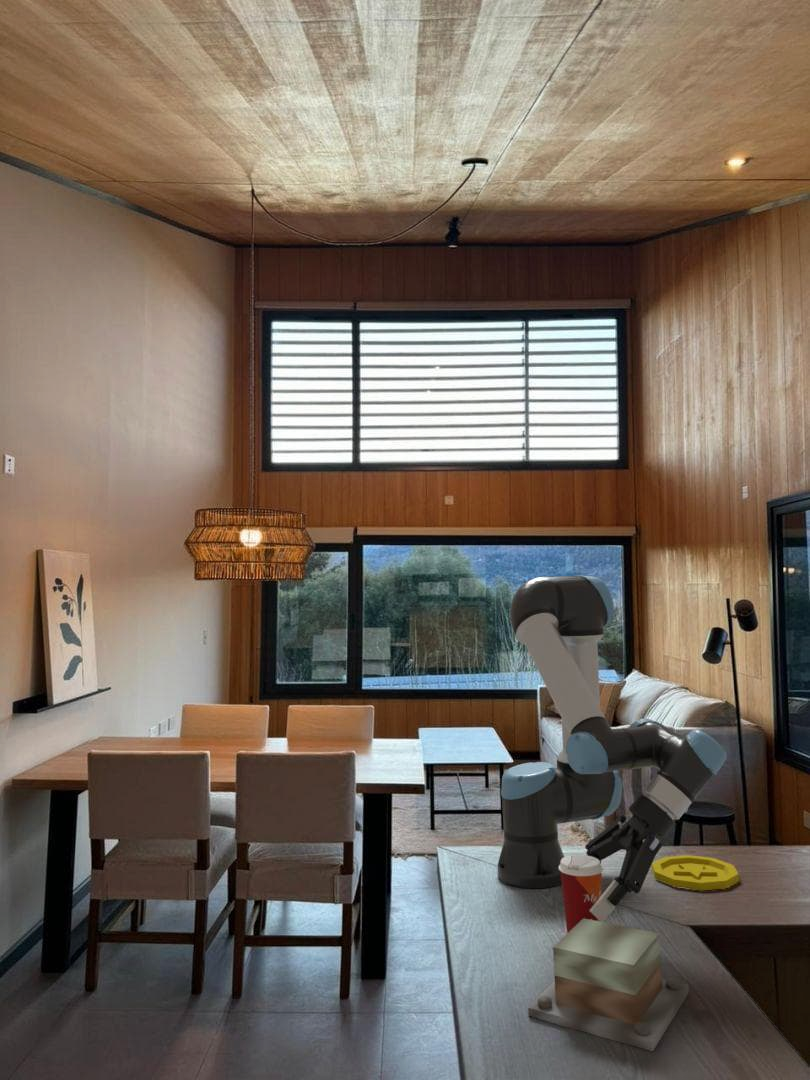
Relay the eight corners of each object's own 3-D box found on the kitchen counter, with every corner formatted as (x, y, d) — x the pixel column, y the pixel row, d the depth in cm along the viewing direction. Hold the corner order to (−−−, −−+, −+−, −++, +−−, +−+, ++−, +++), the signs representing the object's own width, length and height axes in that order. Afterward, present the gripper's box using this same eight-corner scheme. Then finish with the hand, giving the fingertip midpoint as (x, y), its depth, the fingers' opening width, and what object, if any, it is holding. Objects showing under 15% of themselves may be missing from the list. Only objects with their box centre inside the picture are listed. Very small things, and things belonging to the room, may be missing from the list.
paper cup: (599, 956, 134) (594, 870, 135) (555, 947, 138) (551, 864, 139) (613, 938, 140) (608, 857, 141) (571, 930, 144) (567, 851, 145)
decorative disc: (637, 880, 169) (636, 870, 170) (678, 859, 181) (678, 850, 182) (713, 899, 157) (712, 888, 157) (751, 875, 169) (751, 866, 169)
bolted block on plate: (528, 1016, 116) (525, 950, 116) (576, 966, 130) (572, 908, 131) (652, 1051, 106) (648, 979, 106) (688, 992, 120) (684, 930, 121)
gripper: (708, 842, 129) (625, 946, 127) (645, 804, 154) (574, 890, 151) (674, 811, 129) (591, 914, 126) (617, 778, 154) (546, 864, 151)
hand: (582, 901), depth 139 cm, fingers open, 13 cm apart
